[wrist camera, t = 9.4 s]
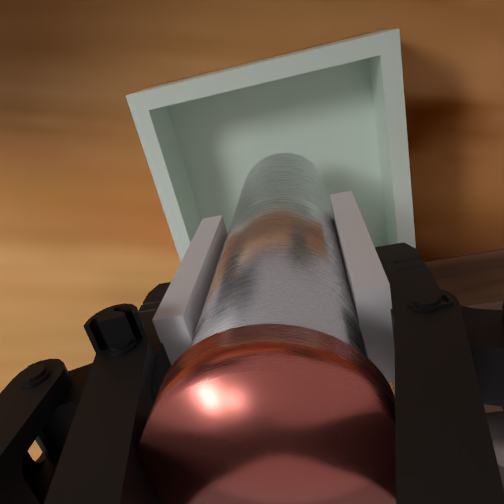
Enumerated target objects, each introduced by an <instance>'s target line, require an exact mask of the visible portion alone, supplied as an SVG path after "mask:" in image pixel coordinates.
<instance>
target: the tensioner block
mask: <svg viewBox="0 0 504 504" xmlns="http://www.w3.org/2000/svg"><path fill="white" fill-rule="evenodd" d="M424 263H425V264H426V267H427V268H428V269H429V271H430V273H431V274H432V276H433V278H434V279H435V281H436V283H437V284H438V286H439V287H440V289H442V290H445V291H448V292H450V293H451V294H453V295H455V296H456V298H457V299H458V301H459V303H460V305H461V306H466V307H470V308H477V309H491V310H502V305H503V302H504V249H503V250H497V251H490V252H484V253H478V254H471V255H465V256H459V257H452V258H446V259H440V260H433V261H427V262H424ZM393 388H394V397H395V382H393ZM484 408H485V413H486V417H487V421H488V425H489V429H490V434H491V438H492V442H493V446H494V450H495V455H496V459H497V463H498V467H499V471H500V476H501V480H502V484H503V488H504V411H503V408H502V407H501V406H494V405H486V404H484Z"/></svg>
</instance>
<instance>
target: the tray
mask: <svg viewBox="0 0 504 504" xmlns="http://www.w3.org/2000/svg"><path fill="white" fill-rule="evenodd" d="M126 99H127V102H128V105H129V108H130V111H131V114H132V117H133V120H134V123H135V126H136V129H137V132H138V135H139V138H140V141H141V144H142V147H143V150H144V153H145V156H146V159H147V162H148V165H149V168H150V171H151V174H152V177H153V180H154V183H155V186H156V189H157V192H158V195H159V198H160V201H161V204H162V207H163V210H164V213H165V216H166V219H167V222H168V225H169V228H170V231H171V234H172V237H173V240H174V243H175V246H176V249H177V252H178V255H179V258H180V261H182V259H183V257H184V255H185V253H186V251H187V249H188V247H189V245H190V243H191V241H192V239H193V237H194V235H195V233H196V231H197V229H198V227H199V225H200V223H201V221H202V219H203V218H209V217H214V216H219V215H222V216H223V219H224V223H225V227H226V230H227V234H228V231H229V228H230V225H231V222H232V219H233V216H234V213H235V210H236V207H237V204H238V201H239V198H240V195H241V191H242V188H243V185H244V182H245V180H246V177H247V175H248V173H249V172H250V170H251V169H252V168H253V167H254V165H255V164H256V163H258V162H259V161H260V160H262V159H264V158H265V157H267V156H270V155H273V154H277V153H293V154H297V155H300V156H303V157H305V158H306V159H308V160H310V161H311V162H312V163H313V164H314V165H315V166H316V167H317V168H318V169H319V171H320V172H321V174H322V176H323V178H324V181H325V184H326V188H327V193H328V197H329V201H330V205H331V199H330V195H331V194H336V193H341V192H346V191H352V193H353V196H354V198H355V201H356V203H357V205H358V208H359V210H360V213H361V215H362V218H363V220H364V223H365V225H366V227H367V230H368V232H369V235H370V237H371V240H372V242H373V245H374V247H379V246H385V245H391V244H397V243H403V242H404V243H406V244H408V245H410V246H412V247H414V248H416V243H415V230H414V216H413V203H412V190H411V177H410V163H409V150H408V137H407V124H406V111H405V97H404V84H403V71H402V58H401V44H400V31H399V28H397V29H388V30H379V31H375V32H371V33H367V34H363V35H359V36H355V37H351V38H347V39H343V40H339V41H335V42H331V43H327V44H323V45H319V46H315V47H311V48H307V49H302V50H298V51H294V52H290V53H286V54H282V55H278V56H274V57H270V58H266V59H262V60H258V61H254V62H250V63H246V64H242V65H238V66H234V67H230V68H226V69H222V70H217V71H213V72H209V73H205V74H201V75H197V76H193V77H189V78H185V79H181V80H177V81H173V82H169V83H165V84H161V85H157V86H153V87H149V88H147V89H144V90H141V91H138V92H135V93H132V94H129V95H126ZM331 209H332V205H331ZM332 213H333V212H332Z"/></svg>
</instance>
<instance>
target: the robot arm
mask: <svg viewBox="0 0 504 504" xmlns="http://www.w3.org/2000/svg"><path fill="white" fill-rule="evenodd" d="M330 199H331V205H332V212H333V218H334V223H335V227H336V231H337V236H338V240H339V244H340V248H341V252H342V256H343V260H344V265H345V269H346V273H347V277H348V281H349V285H350V289H351V294H352V298H353V302H354V306H355V310H356V314H357V318H358V323H359V327H360V329H361V332H362V336H363V340H364V344H365V348H366V352H367V356H368V359H370V360H371V361H372V362H373V363H374V364H375V365H376V366H377V368H378V369H379V370H380V371H381V372H382V374H383V375H384V377H385V378H386V380H387V381H388V383H390V382H395V444H396V504H504V488H503V484H502V480H501V476H500V471H499V467H498V463H497V459H496V455H495V450H494V446H493V442H492V438H491V434H490V429H489V425H488V421H487V417H486V413H485V408H484V404H486V405H494V406H501V407H502V408H503V411H504V302H503V305H502V310H491V309H477V308H470V307H466V306H461V305H460V303H459V301H458V299H457V298H456V296H455V295H453V294H451V293H450V292H448V291H445V290H442V289H440V287H439V286H438V284H437V283H436V281H435V279H434V278H433V276H432V274H431V273H430V271H429V269H428V268H427V267H426V264H425V263H424V261H423V259H422V258H421V256H420V254H419V253H418V251H417V250H416V248H414V247H412V246H410V245H408V244H406V243H404V242H403V243H397V244H391V245H385V246H379V247H374V245H373V242H372V240H371V237H370V235H369V232H368V230H367V227H366V225H365V223H364V220H363V218H362V215H361V213H360V210H359V208H358V205H357V203H356V201H355V198H354V196H353V193H352V191H346V192H341V193H336V194H331V195H330ZM226 237H227V230H226V227H225V223H224V219H223V216H222V215H219V216H214V217H209V218H203V219H202V221H201V223H200V225H199V227H198V229H197V231H196V233H195V235H194V237H193V239H192V241H191V243H190V245H189V247H188V249H187V251H186V253H185V255H184V257H183V259H182V261H181V263H180V265H179V267H178V269H177V271H176V273H175V275H174V277H173V279H172V281H171V282H169V283H163V284H159V285H157V286H156V287H155V288H154V289H153V290H152V291H151V292H149V293H148V295H147V297H146V298H145V300H144V302H143V305H141V307H140V309H139V311H138V309H137V307H136V306H134V305H133V304H119V305H114V306H111V307H108V308H106V309H104V310H102V311H100V312H98V313H96V314H95V315H93V316H92V317H91V318H90V319H88V321H87V322H86V323H85V325H84V328H85V330H86V333H87V335H88V337H89V339H90V341H91V343H92V345H93V348H94V350H95V352H96V356H95V359H94V361H93V363H91V364H88V365H86V366H83V367H80V368H77V369H74V370H71V371H68V370H67V368H66V367H65V365H64V363H63V362H62V361H61V360H59V359H48V360H43V361H39V362H36V363H34V364H32V365H30V366H28V367H27V368H26V369H24V370H23V371H21V372H20V373H19V374H18V375H17V376H16V377H15V378H13V379H12V381H11V382H10V383H9V384H8V385H7V386H6V387H5V389H4V390H3V391H2V392H1V393H0V504H162V503H161V501H160V499H159V497H158V495H157V493H156V490H155V488H154V486H153V484H152V482H151V480H150V478H149V476H148V473H147V471H146V469H145V467H144V465H143V463H142V461H141V459H140V457H139V454H138V448H139V442H140V439H141V437H142V434H143V431H144V429H145V426H146V423H147V421H148V418H149V416H150V413H151V410H152V408H153V405H154V402H155V400H156V397H157V394H158V392H159V389H160V386H161V384H162V381H163V379H164V377H165V375H166V373H167V372H168V370H169V368H170V367H171V366H172V364H173V363H174V362H175V361H176V360H177V359H178V357H179V356H181V355H182V354H183V353H184V352H185V351H186V350H188V349H189V348H190V346H191V343H192V340H193V337H194V334H195V331H196V328H197V325H198V322H199V319H200V316H201V313H202V310H203V307H204V303H205V300H206V297H207V294H208V291H209V288H210V285H211V282H212V279H213V276H214V273H215V270H216V267H217V264H218V261H219V258H220V255H221V252H222V249H223V246H224V243H225V240H226ZM34 440H36V442H37V443H38V445H39V447H40V448H41V450H42V454H41V456H40V457H39V458H38V459H37V460H36V461H34V460H32V458H31V456H30V455H29V453H28V449H29V448H30V446H31V445H32V443H33V442H34Z"/></svg>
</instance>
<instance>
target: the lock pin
mask: <svg viewBox="0 0 504 504" xmlns="http://www.w3.org/2000/svg"><path fill="white" fill-rule="evenodd" d="M138 454H139V457H140V459H141V461H142V463H143V465H144V467H145V469H146V471H147V473H148V476H149V478H150V480H151V482H152V484H153V486H154V488H155V490H156V493H157V495H158V497H159V499H160V501H161V503H162V504H396V444H395V397H394V394H393V392H392V389H391V387H390V385H389V383H388V381H387V380H386V378H385V377H384V375H383V374H382V372H381V371H380V370H379V369H378V368H377V366H376V365H375V364H374V363H373V362H372V361H371V360H370V359H368V356H367V352H366V348H365V344H364V340H363V336H362V332H361V329H360V327H359V323H358V318H357V314H356V310H355V306H354V302H353V298H352V294H351V289H350V285H349V281H348V277H347V273H346V269H345V265H344V260H343V256H342V252H341V248H340V244H339V240H338V236H337V231H336V227H335V223H334V218H333V213H332V209H331V205H330V201H329V197H328V193H327V188H326V184H325V181H324V178H323V176H322V174H321V172H320V171H319V169H318V168H317V167H316V166H315V165H314V164H313V163H312V162H311V161H310V160H308V159H306V158H305V157H303V156H300V155H297V154H293V153H277V154H273V155H270V156H267V157H265V158H264V159H262V160H260V161H259V162H258V163H256V164H255V165H254V167H253V168H252V169H251V170H250V172H249V173H248V175H247V177H246V180H245V182H244V185H243V188H242V191H241V195H240V198H239V201H238V204H237V207H236V210H235V213H234V216H233V219H232V222H231V225H230V228H229V231H228V234H227V237H226V240H225V243H224V246H223V249H222V252H221V255H220V258H219V261H218V264H217V267H216V270H215V273H214V276H213V279H212V282H211V285H210V288H209V291H208V294H207V297H206V300H205V303H204V307H203V310H202V313H201V316H200V319H199V322H198V325H197V328H196V331H195V334H194V337H193V340H192V343H191V346H190V348H189V349H188V350H186V351H185V352H184V353H183V354H182V355H181V356H179V357H178V359H177V360H176V361H175V362H174V363H173V364H172V366H171V367H170V368H169V370H168V372H167V373H166V375H165V377H164V379H163V381H162V384H161V386H160V389H159V392H158V394H157V397H156V400H155V402H154V405H153V408H152V410H151V413H150V416H149V418H148V421H147V423H146V426H145V429H144V431H143V434H142V437H141V439H140V442H139V448H138Z"/></svg>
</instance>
